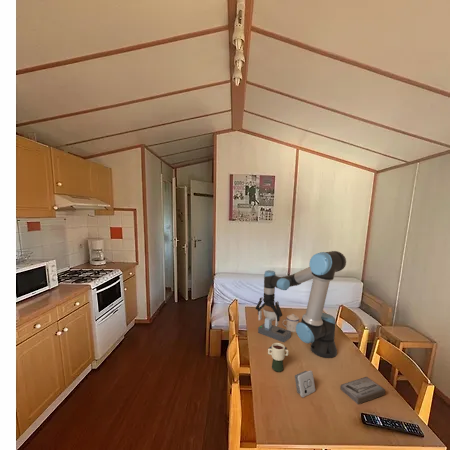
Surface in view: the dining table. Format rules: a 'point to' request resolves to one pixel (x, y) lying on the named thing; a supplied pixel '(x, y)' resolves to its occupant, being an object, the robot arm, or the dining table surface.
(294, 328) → the teacup with lid
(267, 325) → the plug
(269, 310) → the lidded bowl
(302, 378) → the electrical switch
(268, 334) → the battery charging station
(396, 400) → the dining table surface
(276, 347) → the character mug
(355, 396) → the box
